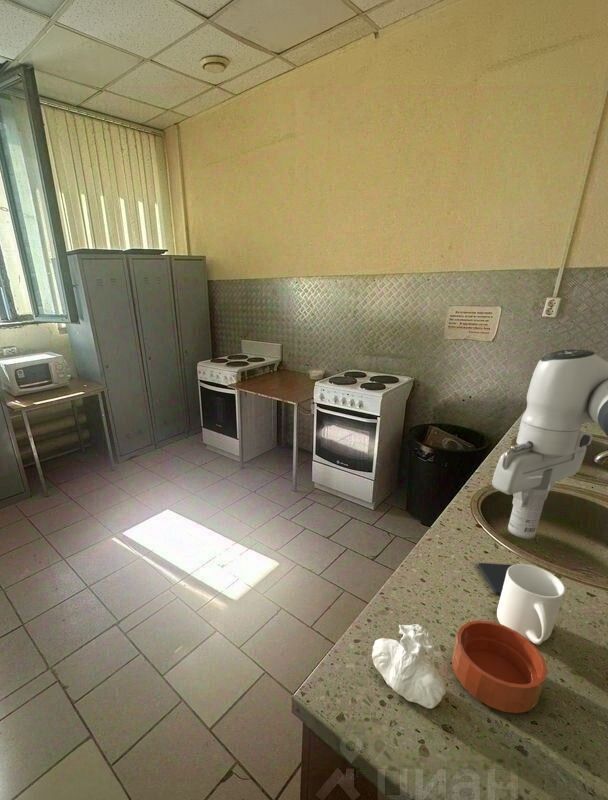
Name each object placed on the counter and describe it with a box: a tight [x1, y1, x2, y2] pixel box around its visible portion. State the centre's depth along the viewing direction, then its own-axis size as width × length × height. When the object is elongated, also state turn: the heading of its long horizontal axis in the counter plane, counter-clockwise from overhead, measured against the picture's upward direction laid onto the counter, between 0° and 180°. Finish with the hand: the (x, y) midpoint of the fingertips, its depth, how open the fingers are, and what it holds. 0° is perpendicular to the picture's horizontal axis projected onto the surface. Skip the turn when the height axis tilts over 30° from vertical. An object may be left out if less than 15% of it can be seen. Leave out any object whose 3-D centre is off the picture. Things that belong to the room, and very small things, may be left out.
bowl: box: [451, 619, 548, 714], centre depth 64 cm, size 12×12×6 cm
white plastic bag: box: [371, 623, 447, 710], centre depth 63 cm, size 12×8×11 cm
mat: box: [477, 562, 513, 596], centre depth 85 cm, size 9×9×1 cm
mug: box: [496, 563, 566, 646], centre depth 71 cm, size 9×12×11 cm
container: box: [507, 469, 552, 540], centre depth 78 cm, size 5×5×15 cm
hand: (529, 502), depth 78 cm, fingers closed on container, 4 cm apart
